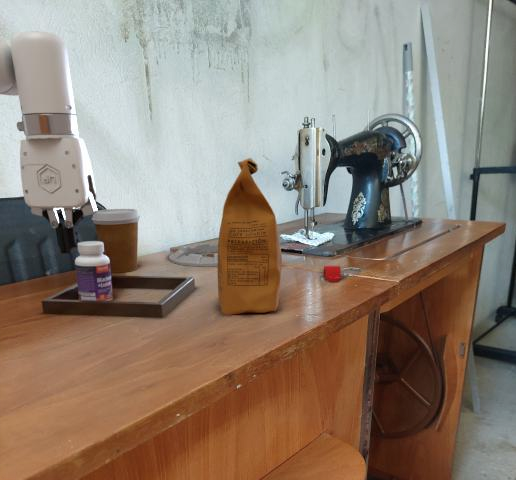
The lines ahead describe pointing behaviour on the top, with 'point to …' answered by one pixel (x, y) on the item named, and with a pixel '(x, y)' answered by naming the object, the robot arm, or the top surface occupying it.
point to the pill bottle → (93, 272)
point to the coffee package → (248, 249)
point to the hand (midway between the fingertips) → (70, 251)
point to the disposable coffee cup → (118, 237)
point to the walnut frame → (69, 305)
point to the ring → (195, 256)
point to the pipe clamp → (332, 273)
